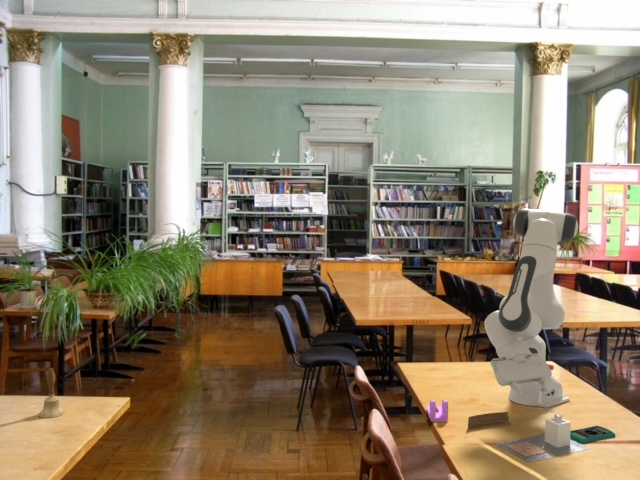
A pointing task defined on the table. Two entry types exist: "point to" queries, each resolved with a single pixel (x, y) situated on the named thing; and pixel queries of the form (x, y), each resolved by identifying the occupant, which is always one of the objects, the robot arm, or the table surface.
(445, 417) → the bracket
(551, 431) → the sleeve
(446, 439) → the table surface
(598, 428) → the digital multimeter
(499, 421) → the brown bark piece
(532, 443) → the post plate
